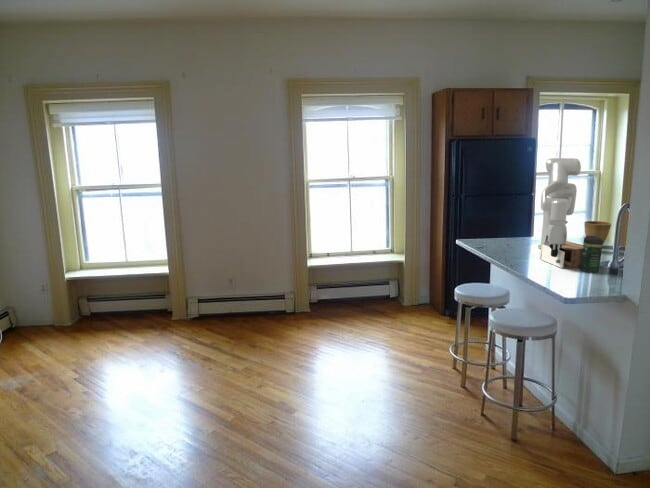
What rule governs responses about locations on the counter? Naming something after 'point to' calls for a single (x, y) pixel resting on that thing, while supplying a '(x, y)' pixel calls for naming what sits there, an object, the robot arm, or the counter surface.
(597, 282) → the counter surface
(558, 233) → the robot arm
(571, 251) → the cabinet
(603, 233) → the plant pot
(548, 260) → the door
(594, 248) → the coffee jar
